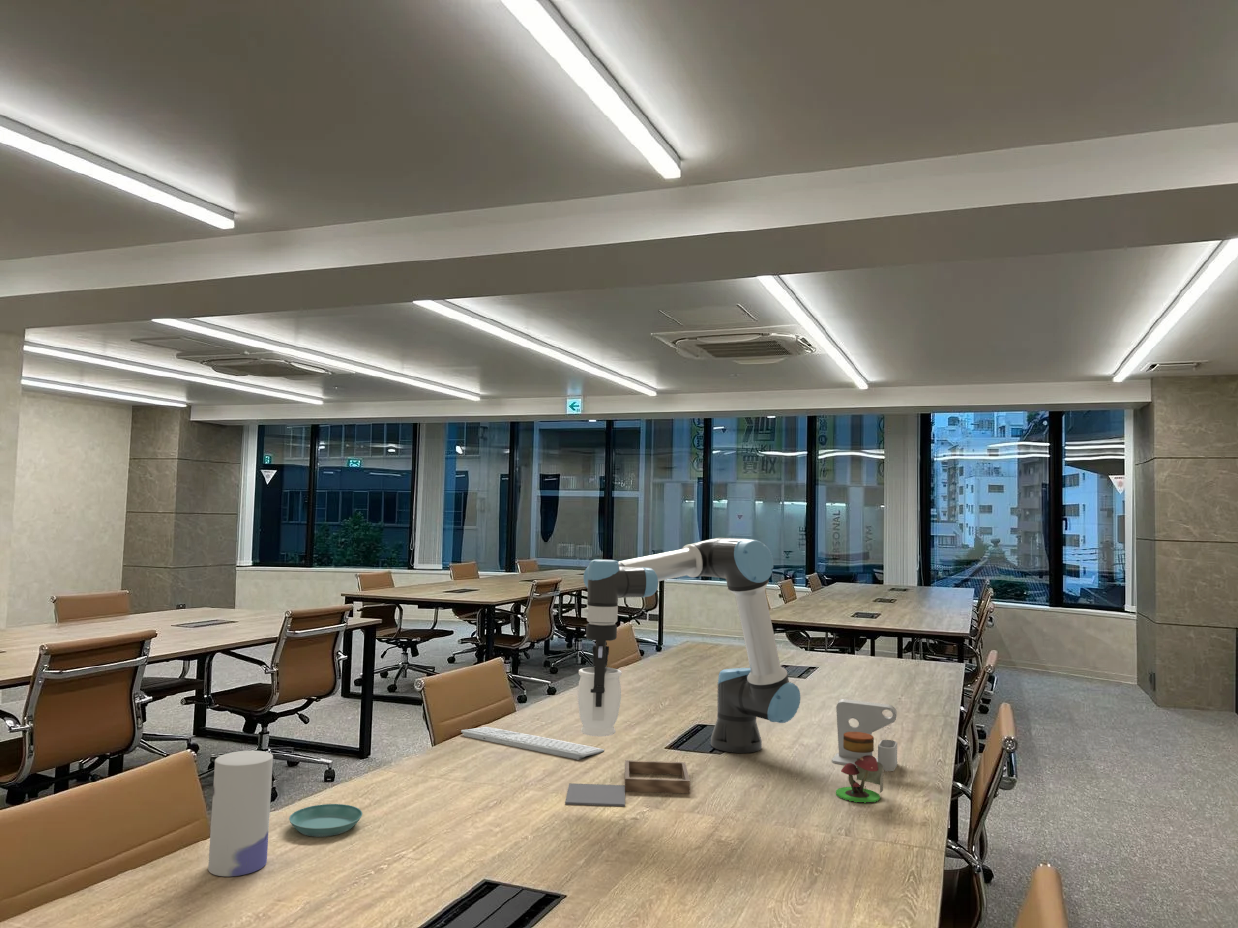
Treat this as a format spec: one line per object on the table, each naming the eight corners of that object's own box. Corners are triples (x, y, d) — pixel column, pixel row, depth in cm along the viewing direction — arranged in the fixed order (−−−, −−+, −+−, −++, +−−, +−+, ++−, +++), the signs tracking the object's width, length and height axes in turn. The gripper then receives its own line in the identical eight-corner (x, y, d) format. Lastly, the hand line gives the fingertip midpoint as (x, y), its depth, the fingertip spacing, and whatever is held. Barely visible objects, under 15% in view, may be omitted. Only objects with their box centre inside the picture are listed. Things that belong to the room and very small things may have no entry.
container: (220, 855, 161) (227, 749, 162) (273, 855, 162) (280, 749, 163) (198, 877, 151) (206, 764, 153) (256, 877, 152) (262, 764, 153)
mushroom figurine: (859, 808, 200) (860, 744, 201) (824, 792, 211) (825, 731, 212) (896, 801, 206) (896, 739, 207) (859, 786, 217) (860, 727, 218)
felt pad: (624, 787, 210) (624, 785, 210) (624, 806, 196) (625, 804, 196) (569, 785, 210) (569, 783, 210) (565, 804, 196) (565, 801, 196)
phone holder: (899, 763, 239) (899, 699, 240) (894, 772, 230) (895, 706, 231) (837, 754, 247) (838, 692, 248) (830, 763, 237) (831, 698, 239)
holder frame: (684, 773, 223) (685, 762, 223) (689, 793, 207) (689, 780, 207) (624, 771, 223) (625, 760, 223) (624, 791, 207) (625, 778, 207)
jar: (623, 729, 208) (625, 668, 209) (615, 739, 198) (617, 675, 199) (582, 725, 210) (584, 665, 211) (571, 735, 200) (573, 672, 201)
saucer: (319, 846, 167) (320, 833, 168) (273, 830, 175) (273, 817, 175) (376, 825, 180) (377, 812, 180) (330, 810, 188) (331, 798, 188)
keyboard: (605, 752, 242) (605, 744, 242) (581, 762, 232) (582, 754, 232) (486, 729, 265) (486, 721, 265) (459, 737, 254) (460, 729, 254)
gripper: (588, 616, 217) (585, 703, 216) (584, 628, 194) (580, 725, 193) (617, 617, 217) (614, 704, 216) (616, 629, 194) (613, 726, 193)
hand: (598, 714), depth 204 cm, fingers closed on jar, 10 cm apart
